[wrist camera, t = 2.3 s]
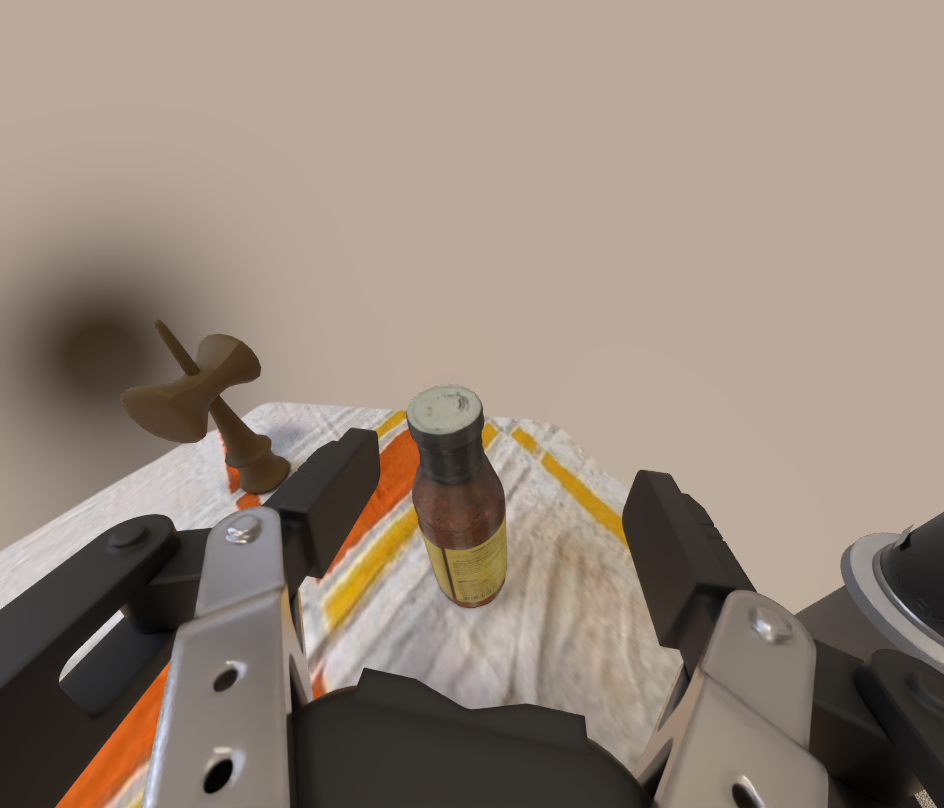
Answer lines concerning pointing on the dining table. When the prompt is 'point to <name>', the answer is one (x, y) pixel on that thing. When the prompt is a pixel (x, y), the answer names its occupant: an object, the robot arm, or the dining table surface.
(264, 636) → the robot arm
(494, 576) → the sauce bottle
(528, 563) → the dining table surface
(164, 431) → the kendama
